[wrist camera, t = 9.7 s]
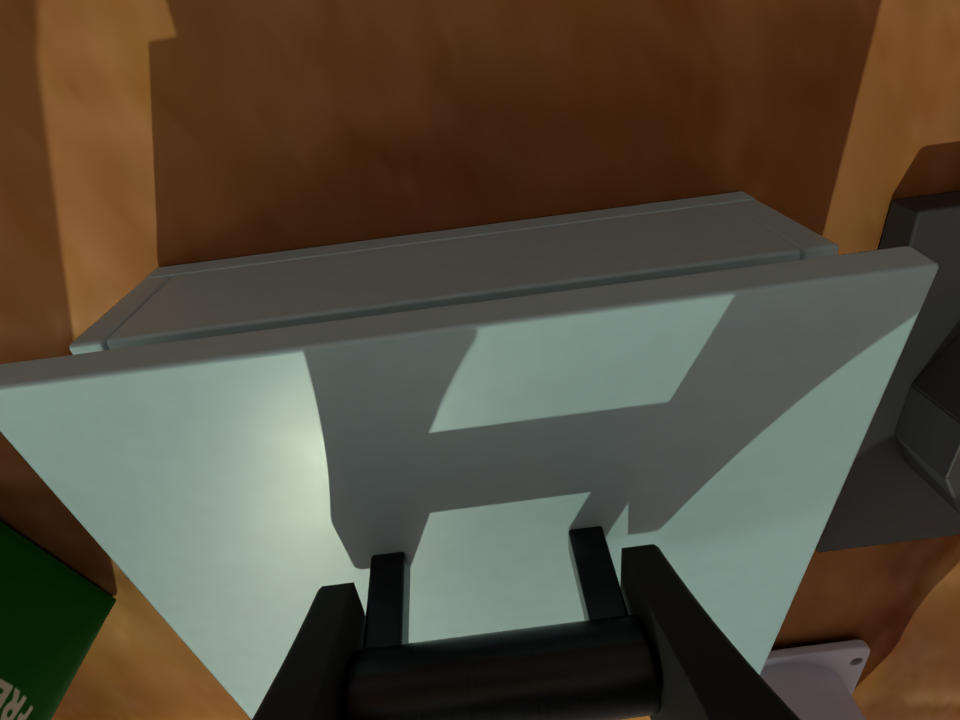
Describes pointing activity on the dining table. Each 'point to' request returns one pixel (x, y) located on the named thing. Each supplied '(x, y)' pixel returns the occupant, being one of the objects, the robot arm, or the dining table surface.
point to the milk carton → (42, 627)
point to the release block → (912, 404)
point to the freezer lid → (480, 475)
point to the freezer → (452, 269)
